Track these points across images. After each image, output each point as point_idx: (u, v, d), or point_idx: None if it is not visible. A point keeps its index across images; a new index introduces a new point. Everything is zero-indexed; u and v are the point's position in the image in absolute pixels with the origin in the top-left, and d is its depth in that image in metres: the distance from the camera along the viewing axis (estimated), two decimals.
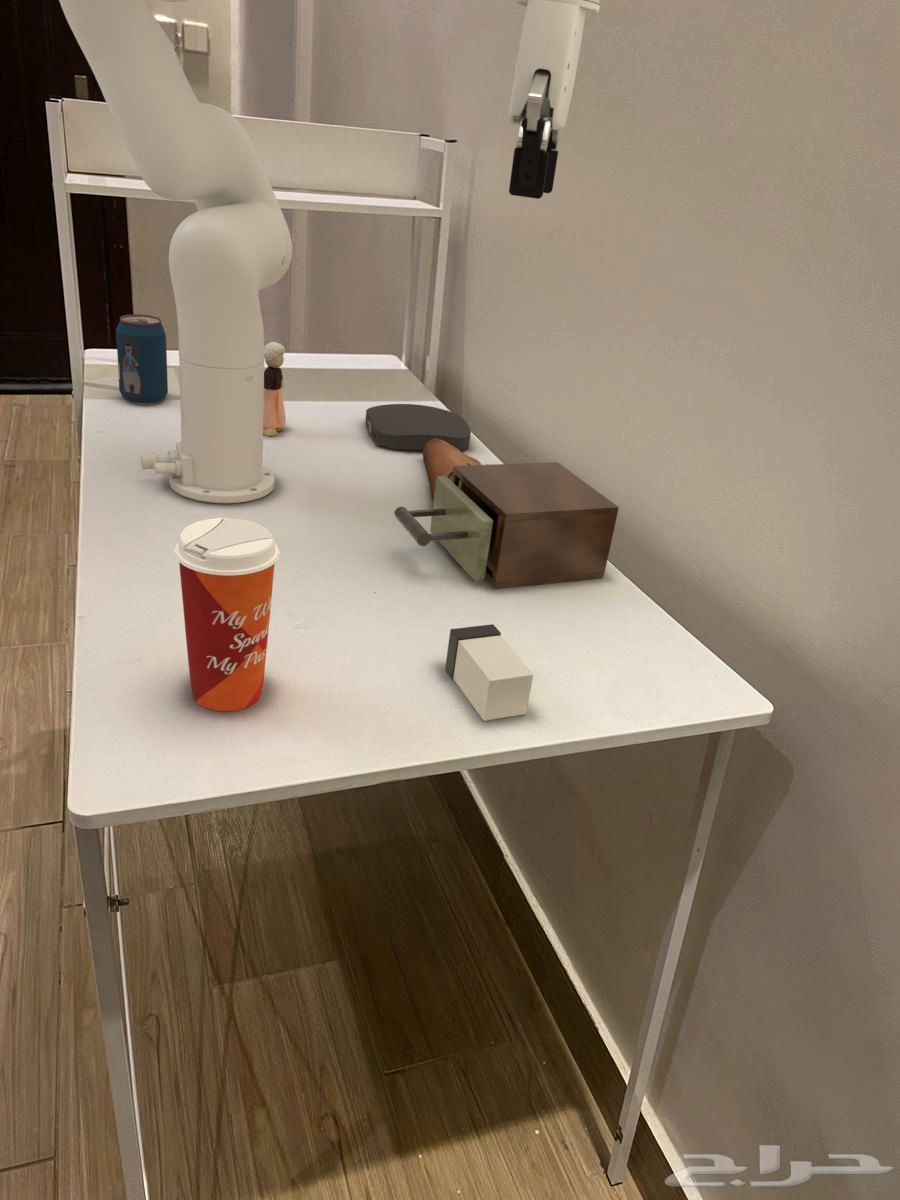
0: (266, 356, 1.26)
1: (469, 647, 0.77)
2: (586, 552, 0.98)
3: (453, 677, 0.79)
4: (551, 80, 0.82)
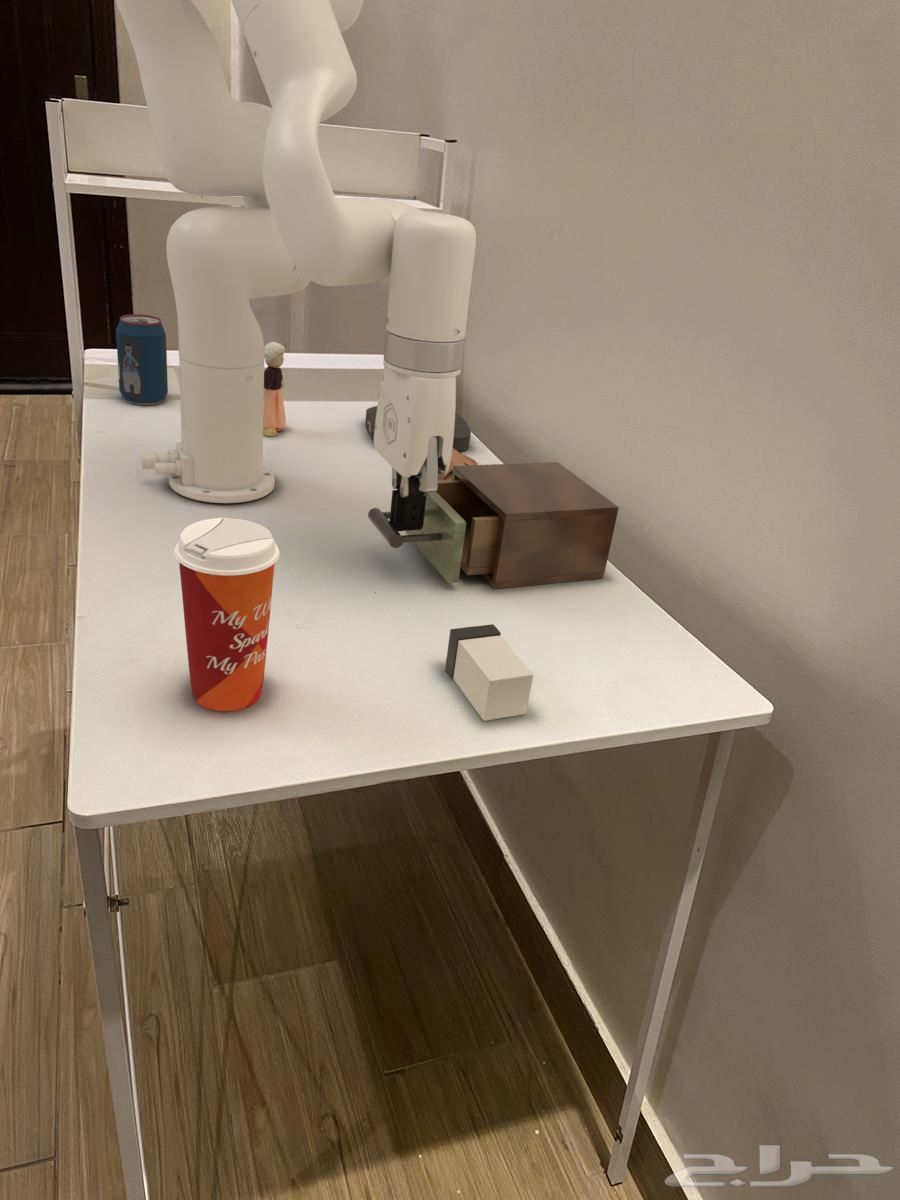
0: (266, 356, 1.26)
1: (469, 647, 0.77)
2: (586, 552, 0.98)
3: (453, 677, 0.79)
4: (443, 443, 0.87)
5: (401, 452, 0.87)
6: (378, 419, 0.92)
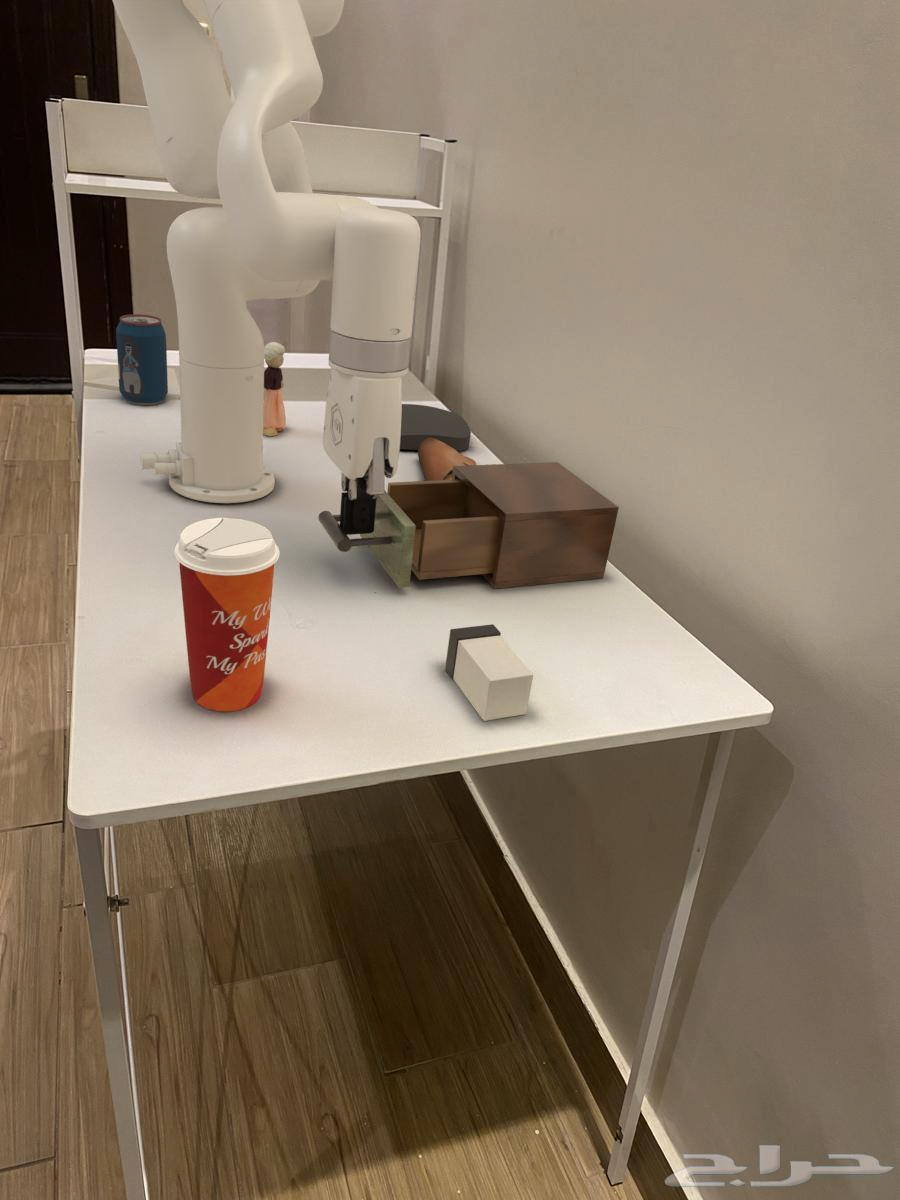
0: (266, 356, 1.26)
1: (469, 647, 0.77)
2: (586, 552, 0.98)
3: (453, 677, 0.79)
4: (390, 445, 0.85)
5: (346, 454, 0.85)
6: (326, 419, 0.90)
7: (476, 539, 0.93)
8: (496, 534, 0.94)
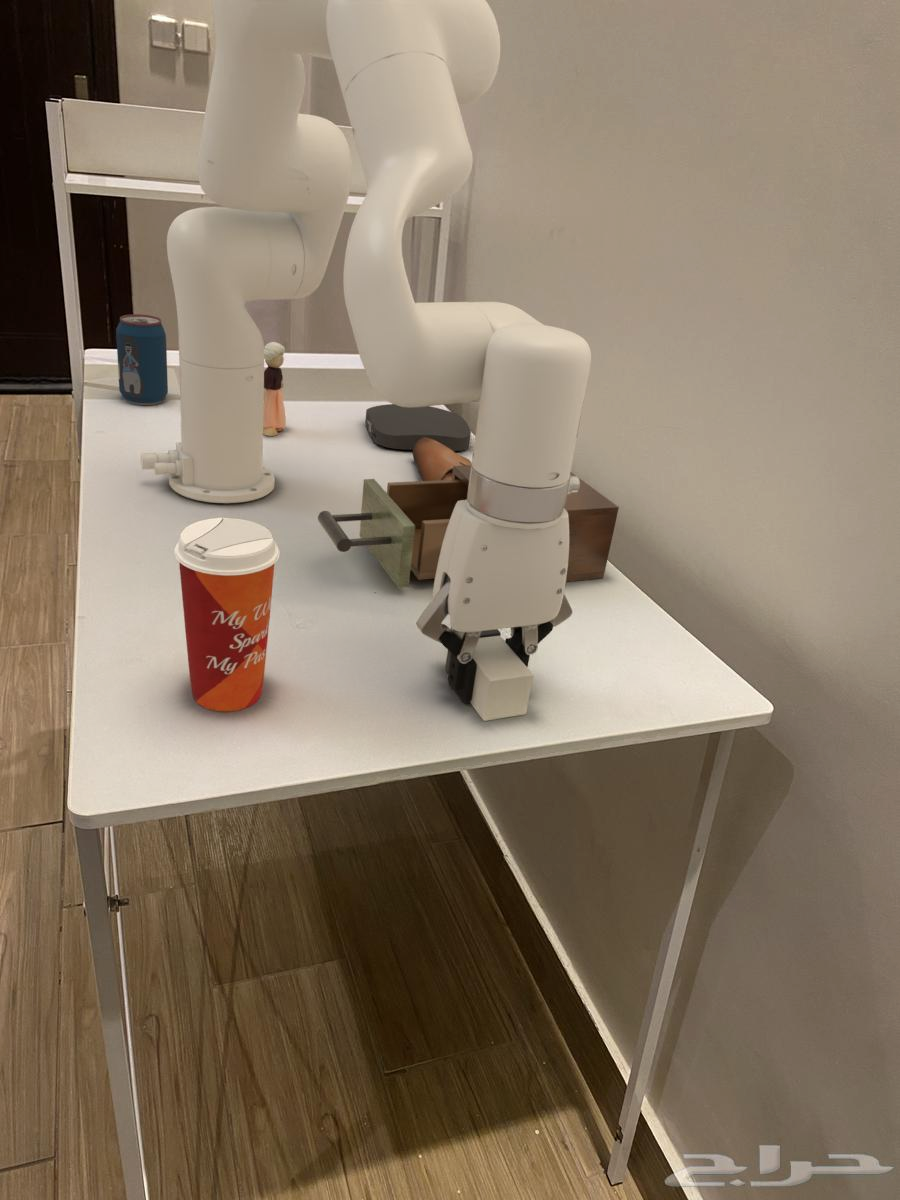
0: (266, 356, 1.26)
1: None
2: (586, 552, 0.98)
3: None
4: (450, 588, 0.71)
5: None
6: None
7: None
8: None
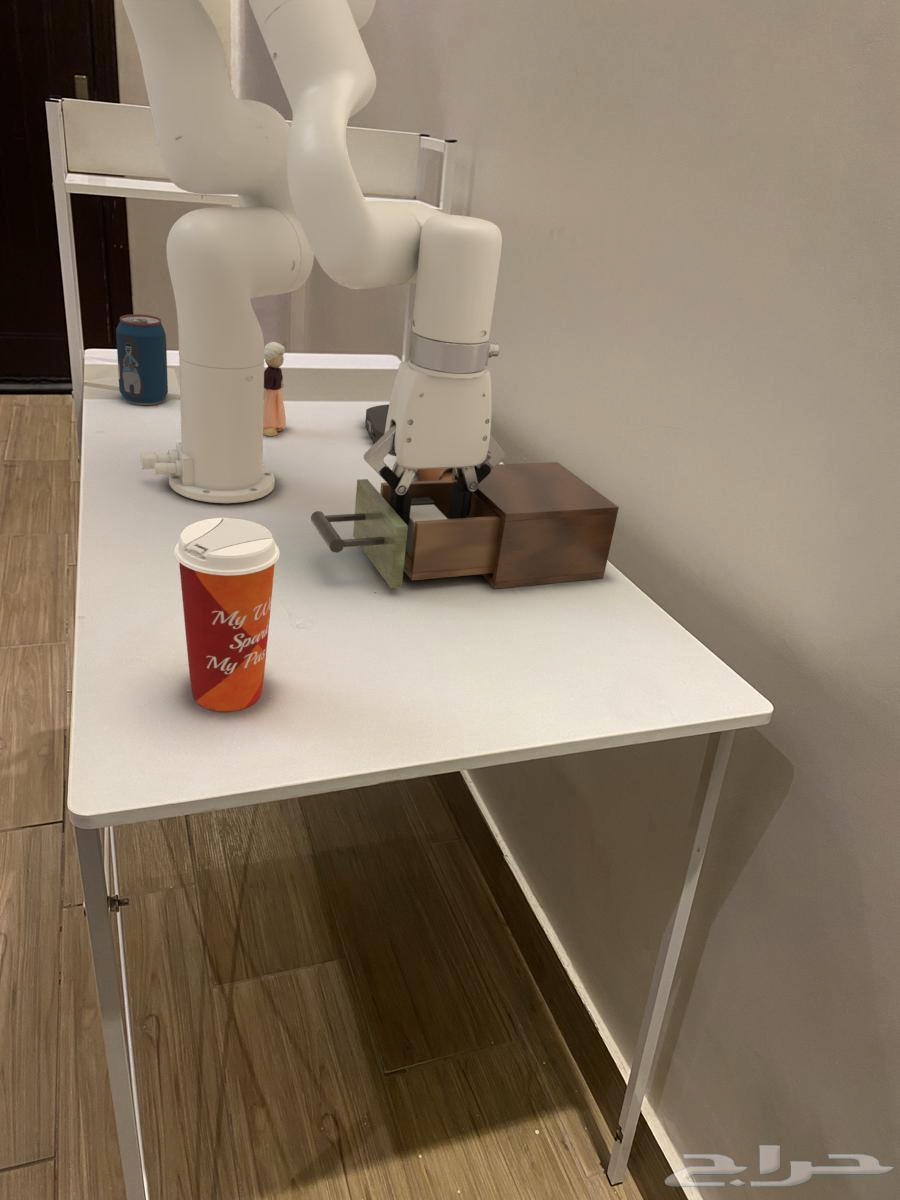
0: (266, 356, 1.26)
1: None
2: (586, 552, 0.98)
3: None
4: (396, 430, 0.89)
5: None
6: None
7: (469, 540, 0.93)
8: (489, 535, 0.94)
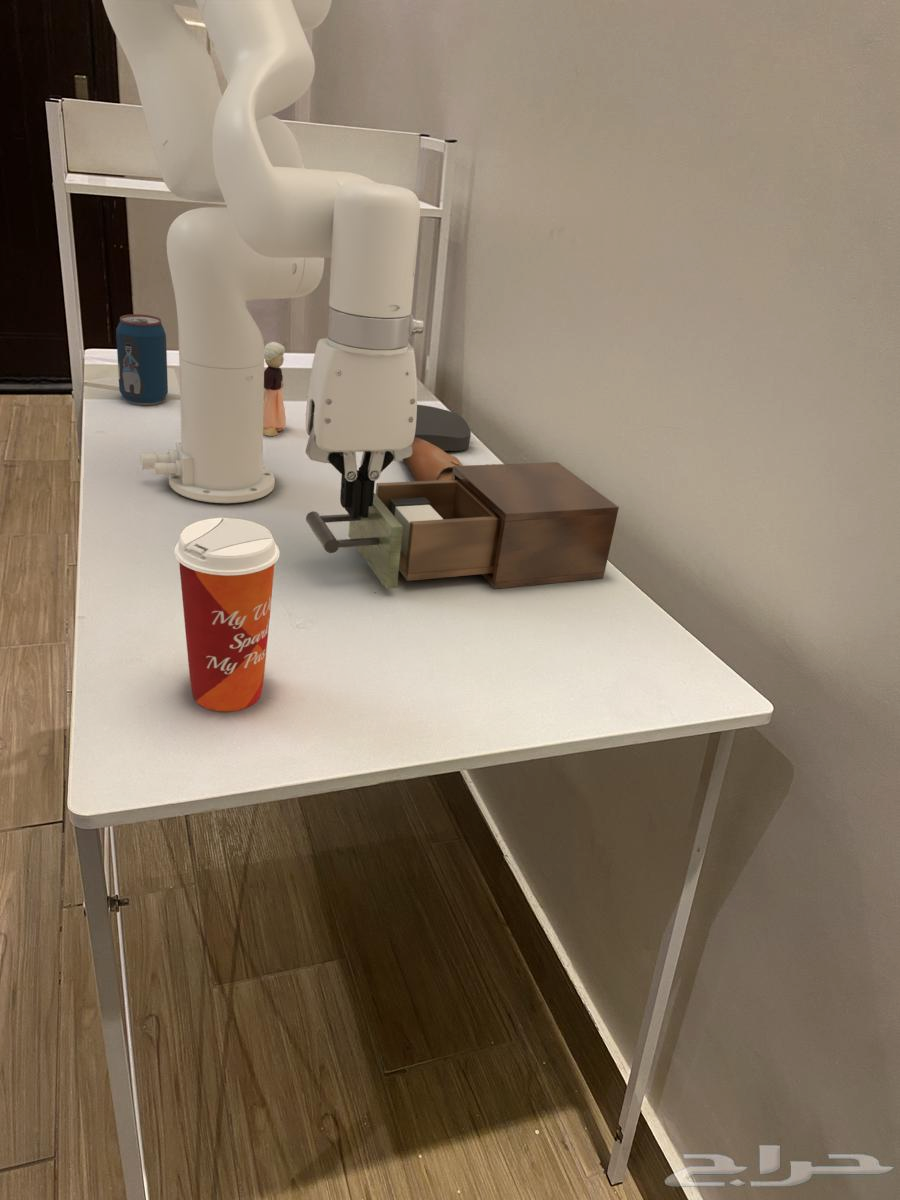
0: (266, 356, 1.26)
1: (403, 511, 0.96)
2: (586, 552, 0.98)
3: None
4: (314, 411, 0.85)
5: None
6: None
7: (464, 540, 0.93)
8: (484, 535, 0.94)
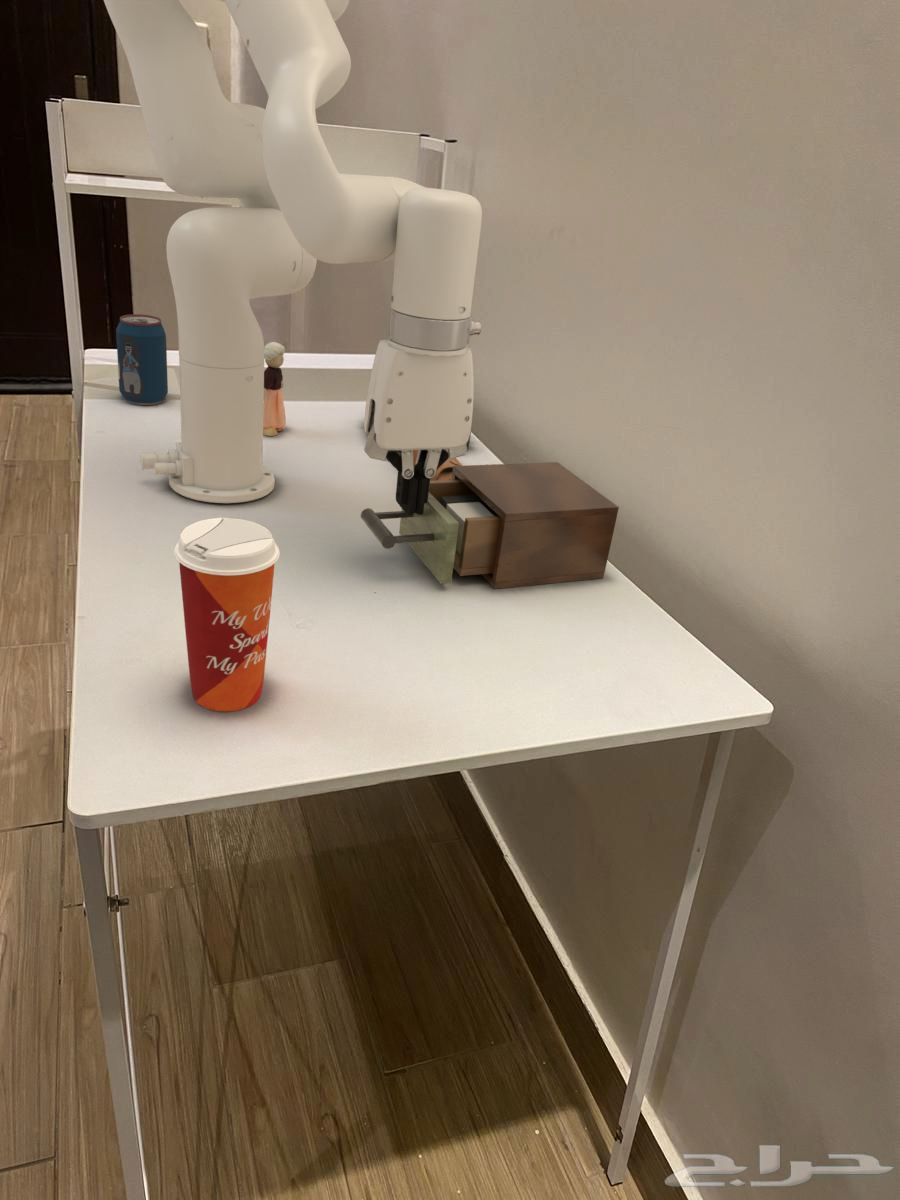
0: (266, 356, 1.26)
1: (455, 508, 0.98)
2: (586, 552, 0.98)
3: None
4: (375, 410, 0.87)
5: None
6: None
7: None
8: None
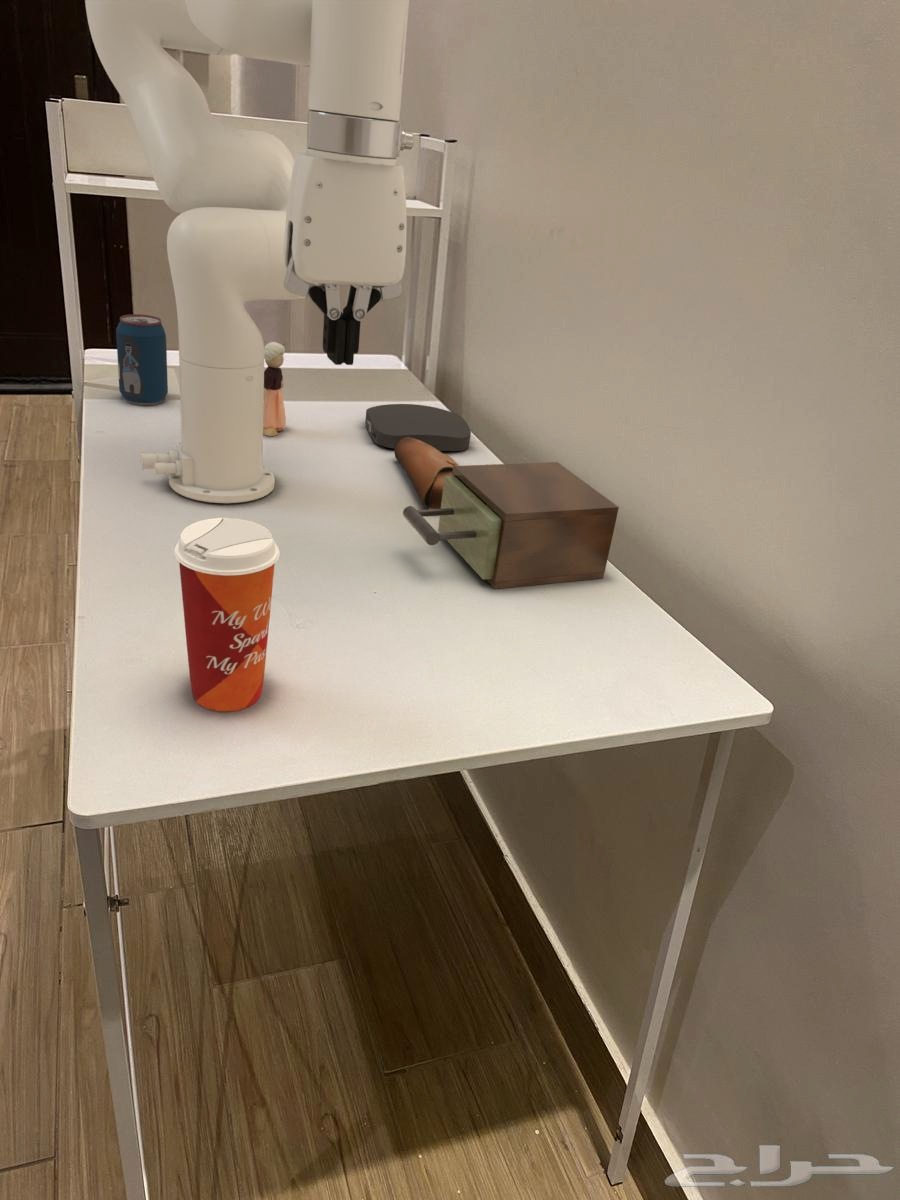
0: (266, 356, 1.26)
1: None
2: (586, 552, 0.98)
3: None
4: (293, 232, 0.76)
5: None
6: None
7: None
8: None
